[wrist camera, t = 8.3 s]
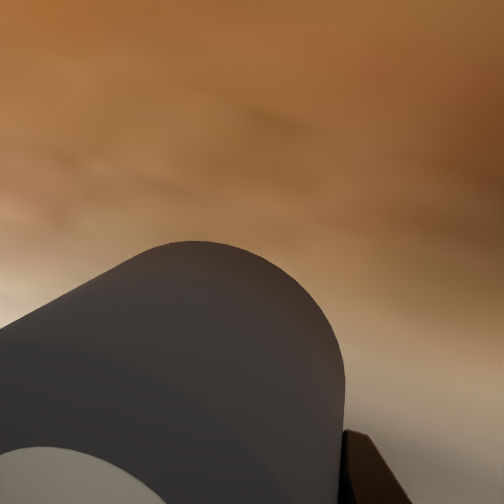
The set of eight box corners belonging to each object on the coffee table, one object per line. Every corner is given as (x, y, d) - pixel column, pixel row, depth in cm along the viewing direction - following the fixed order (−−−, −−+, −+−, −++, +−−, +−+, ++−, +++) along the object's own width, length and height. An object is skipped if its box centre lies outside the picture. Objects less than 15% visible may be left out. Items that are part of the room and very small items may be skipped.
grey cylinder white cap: (312, 525, 10) (273, 835, 5) (75, 447, 11) (-118, 659, 6) (376, 278, 8) (392, 440, 4) (91, 214, 9) (-149, 285, 5)
